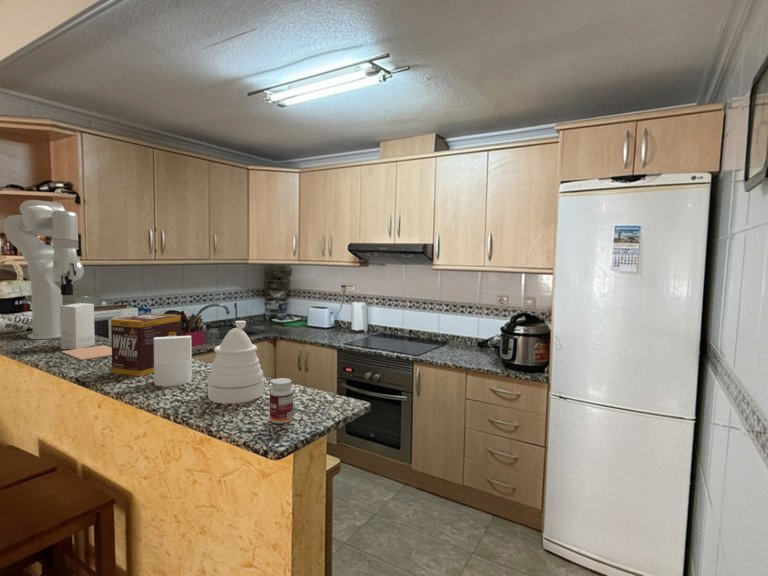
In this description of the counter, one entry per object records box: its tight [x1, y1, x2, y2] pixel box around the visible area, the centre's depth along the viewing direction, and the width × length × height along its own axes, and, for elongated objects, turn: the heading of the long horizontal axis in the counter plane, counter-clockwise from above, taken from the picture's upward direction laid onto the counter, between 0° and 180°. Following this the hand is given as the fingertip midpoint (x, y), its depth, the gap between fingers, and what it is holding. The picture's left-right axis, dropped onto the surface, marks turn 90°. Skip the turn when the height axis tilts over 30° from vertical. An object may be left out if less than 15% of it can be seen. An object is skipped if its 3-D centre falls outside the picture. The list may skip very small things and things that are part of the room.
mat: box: [60, 345, 112, 361], centre depth 141 cm, size 17×13×1 cm
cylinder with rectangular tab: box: [153, 335, 193, 387], centre depth 111 cm, size 9×9×12 cm
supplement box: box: [110, 312, 182, 377], centre depth 123 cm, size 10×15×16 cm
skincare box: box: [60, 302, 96, 350], centre depth 147 cm, size 8×7×16 cm
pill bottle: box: [269, 377, 294, 424], centre depth 87 cm, size 5×5×8 cm
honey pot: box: [207, 320, 264, 404], centre depth 102 cm, size 13×13×18 cm
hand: (67, 295), depth 152 cm, fingers closed
